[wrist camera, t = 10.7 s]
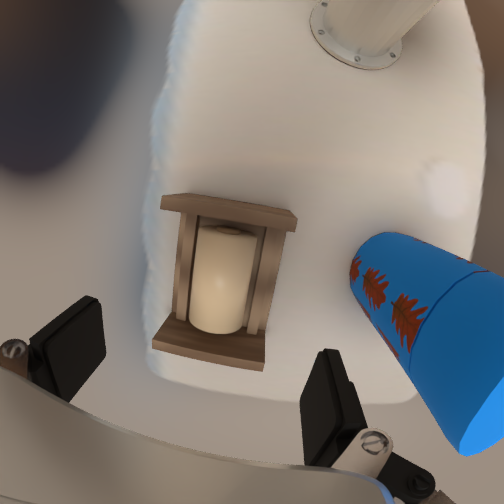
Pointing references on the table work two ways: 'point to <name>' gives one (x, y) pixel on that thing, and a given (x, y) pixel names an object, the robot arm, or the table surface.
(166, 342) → the cradle
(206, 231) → the kraft roll
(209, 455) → the robot arm
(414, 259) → the thermos
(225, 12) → the table surface
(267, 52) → the table surface
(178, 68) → the table surface
